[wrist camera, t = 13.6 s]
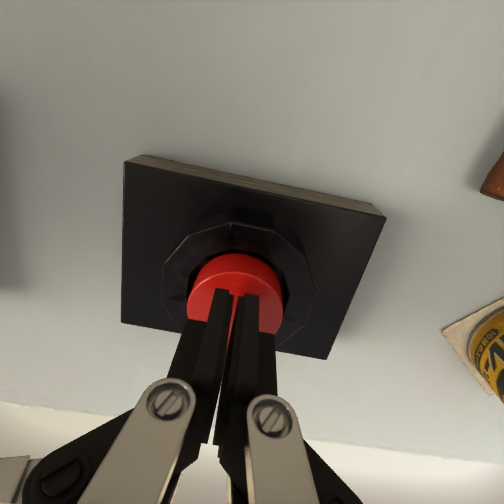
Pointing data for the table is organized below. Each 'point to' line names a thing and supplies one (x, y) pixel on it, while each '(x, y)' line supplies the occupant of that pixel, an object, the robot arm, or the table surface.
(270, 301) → the button
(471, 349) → the condiment
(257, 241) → the button box
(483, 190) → the sunglasses case
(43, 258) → the table surface
